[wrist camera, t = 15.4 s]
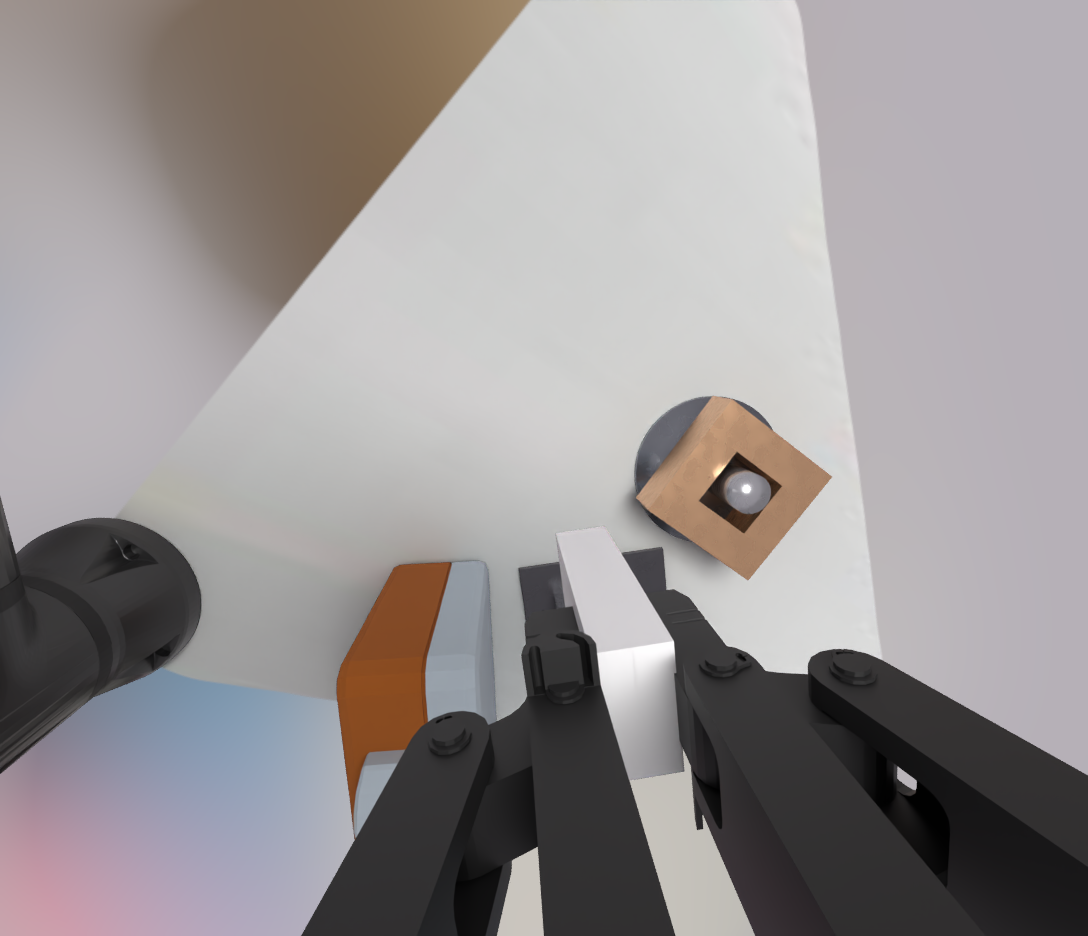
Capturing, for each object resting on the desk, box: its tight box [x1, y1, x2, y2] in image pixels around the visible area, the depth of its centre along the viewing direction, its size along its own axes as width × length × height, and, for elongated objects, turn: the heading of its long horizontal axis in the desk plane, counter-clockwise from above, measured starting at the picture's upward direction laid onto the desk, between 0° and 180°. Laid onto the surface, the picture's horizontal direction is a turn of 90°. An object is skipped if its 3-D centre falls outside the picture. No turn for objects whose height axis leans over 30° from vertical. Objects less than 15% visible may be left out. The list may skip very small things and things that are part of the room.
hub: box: [635, 396, 772, 541], centre depth 45 cm, size 14×14×9 cm
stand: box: [519, 547, 666, 621], centre depth 48 cm, size 14×14×8 cm
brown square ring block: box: [636, 396, 832, 580], centre depth 44 cm, size 11×11×4 cm
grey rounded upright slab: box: [337, 561, 496, 839], centre depth 41 cm, size 18×9×21 cm, turn 2°
